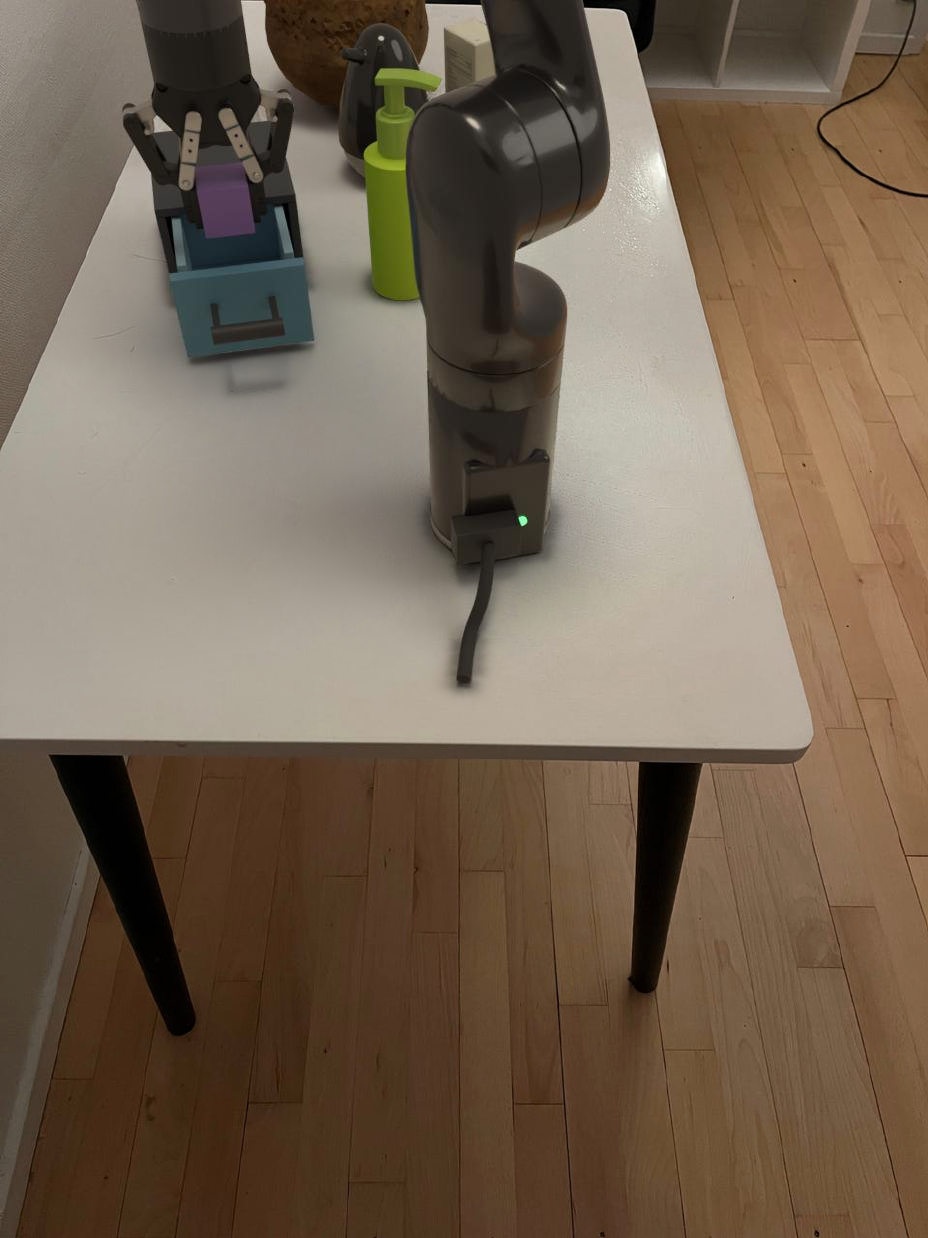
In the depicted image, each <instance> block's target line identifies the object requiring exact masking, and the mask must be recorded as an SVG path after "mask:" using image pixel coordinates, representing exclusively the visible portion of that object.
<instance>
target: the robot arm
mask: <svg viewBox="0 0 928 1238" xmlns="http://www.w3.org/2000/svg"><path fill="white" fill-rule="evenodd" d="M479 2H480V5H481V10H482V13H483V16H484V20H485V24H486V25H487V30H488V34H489V38H490V44H491V49H492V54H493V62H494V70H495V75H493V76H491V77H488V78H485V79H482V80H480V81H477V82H474V83H471V84H469V85H466V86H464V87H460V88H458V89H455V90H452V91H450V92H447V93H445V92H444V93H442V94H440V95H438V96H435V97H433V98H431V99H428V100H429V101H427V102H426V103H425V104H423V105H422V106H421V107H420V108H419V110H418V111H417V113H416V114H415V116H414V118H413V120H412V123H411V125H410V129H409V133H408V137H407V145H406V155H405V172H406V186H407V197H408V207H409V217H410V227H411V238H412V249H413V262H414V274H415V280H416V286H417V290H418V294H419V301H420V303H421V306H422V311H423V315H424V318H425V332H426V333H425V334H426V335H425V336H426V337H425V338H426V341H425V342H426V383H427V384H426V385H427V386H426V387H427V419H428V420H427V421H428V422H427V423H428V456H429V457H428V458H429V486H430V504H429V522H430V525H431V528H432V531H433V533H434V534H435V535H436V537H437V538H438V539H439V540H440V542H441V543H442V544H443V545H445V546H446V547H447V548H449V549H450V550H451V551H452V553H453V557H454V560H455V564H456V565H457V566H460V565H465V564H466V565H470V564H471V565H472V564H477V563H479V564H480V567H479V576H478V578H479V579H478V584H477V588H476V589H477V590H476V594H475V599H474V602H473V605H472V608H471V611H470V613H469V615H468V617H467V620H466V623H465V626H464V630H463V634H462V637H461V643H460V648H459V654H458V662H457V663H458V664H457V671H456V677H455V678H456V681H457V682H458V683H460V684H463V685H466V684H470V682H471V681H472V672H473V663H474V655H475V649H476V642H477V638H478V634H479V630H480V628H481V625H482V623H483V620H484V618H485V616H486V612H487V609H488V607H489V603H490V600H491V594H492V589H493V582H494V573H495V562H496V560H502V559H503V560H504V559H509V558H513V557H518V556H523V555H529V554H536V553H540V552H542V551H543V550H544V540H545V539H544V538H545V535H546V533H547V531H548V528H549V525H550V519H551V508H550V504H551V494H552V485H553V484H552V481H553V469H554V460H555V448H556V439H557V427H558V415H559V407H560V406H559V404H560V396H561V395H560V394H561V386H562V385H561V383H562V377H563V376H562V375H563V365H564V354H565V343H566V335H567V325H568V303H567V299H566V296H565V294H564V291H563V289H562V288H561V286H560V285H559V284H558V282H556V280H554V279H553V278H552V277H551V276H550V275H548V274H547V273H545V272H544V271H542V270H540V269H538V268H536V267H534V266H531V265H529V264H526V263H524V262H519V261H516V253H517V251H519V250H521V249H523V248H524V247H528V246H529V245H532V244H534V243H536V242H538V241H540V240H543V239H545V238H548V237H550V236H551V235H553V234H556V233H558V232H561V231H562V230H565V229H567V228H569V227H572V226H573V225H575V224H577V223H579V222H581V221H582V220H584V219H585V218H587V217H588V216H590V215H591V214H592V213H593V212H594V211H595V210H596V209H597V207H598V206H599V205H600V203H601V202H602V200H603V197H604V195H605V193H606V191H607V187H608V184H609V177H610V171H611V140H610V139H611V137H610V130H609V123H608V113H607V109H606V104H605V103H606V102H605V97H604V92H603V89H602V83H601V79H600V74H599V69H598V65H597V60H596V56H595V55H596V54H595V52H594V47H593V42H592V38H591V33H590V29H589V23H588V19H587V15H586V11H585V6H584V2H583V0H479ZM135 3H136V6H137V10H138V15H139V19H140V24H141V29H142V34H143V39H144V42H145V46H146V52H147V57H148V62H149V67H150V71H151V75H152V80H153V89H152V90H151V94H150V95H151V96H150V99H148V100H147V101H144V102H142V103H139V104H137V105H135V104H134V103H131V102H127V103H125V104H124V105H122V108H121V113H122V127H123V128H124V130H125V132H126V133H127V135H128V137H129V139H130V140H131V142H132V144H133V145H134V148H135V149H136V151H137V153H138V154H139V155H140V157H141V159H142V160H143V162H144V164H145V166H146V168H147V169H148V171H149V172H150V175H151V174H152V176H153V178H154V179H155V181H156V182H157V183H158V184H159V185H167V184H172V185H175V186H177V187H178V188H179V190H180V192H181V196H182V201H183V206H184V210H185V215H186V219H187V220H188V222H189V223H190V224H191V223H196V228H197V230H198V229H204V226H203V221H202V216H201V211H200V206H199V201H198V196H197V190H196V183H195V167H196V164H197V155H198V149H206V148H208V147H211V146H213V145H219V146H233V147H234V149H235V151H236V154H237V156H238V158H239V160H240V161H241V162H242V164H243V166H244V169H245V171H246V172H245V173H246V178H247V183H248V189H249V195H250V201H251V208H252V214H253V220H254V223H260V222H261V218H260V216H262V215H266V213H267V203H266V197H265V190H264V178H265V177H266V176H267V175H268V174H271V173H280V172H282V170H283V168H284V163H285V158H286V159H287V152H288V148H289V142H290V137H291V132H292V127H293V121H294V116H295V110H296V107H295V105H294V101H293V97H292V95H291V92H290V91H289V90H288V89H286V88H279V89H278V90H277V91H271V90H269V89H262V88H260V86H259V84H258V82H257V81H256V79H255V78H254V75H253V72H252V67H251V59H250V53H249V47H248V45H249V44H248V39H247V31H246V25H245V17H244V13H243V5H242V0H135ZM251 72H252V73H251ZM260 106H261V107H262V108H264V112H265V116H266V119H267V121H270V122H271V126H270V131H269V137H268V143H267V148H266V151H265V152H262V153H260V154H258V155H257V153H256V150H255V148H254V146H253V144H252V142H251V139H250V136H249V134H248V132H247V128H248V126H249V124H250V123H251V121H252V119H253V117H254V115H255V113H256V111H257V110H258V111H259V107H260ZM156 117H158V118H159V119H160V120H161V121H162V122H163V123H164V124H165V125H166V126H167V127H168V128H170V130H171V131H174V132H175V133H176V134H177V135H178V136H179V150H178V161H177V163H173V162H169V161H167V159H166V158H165V156H164V154H163V152H162V151H161V149H160V147H159V145H158V144H157V142H156V140H155V138H154V137H153V135H152V134H153V133H154V132H155V129H156V128H155V118H156Z"/></svg>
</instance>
